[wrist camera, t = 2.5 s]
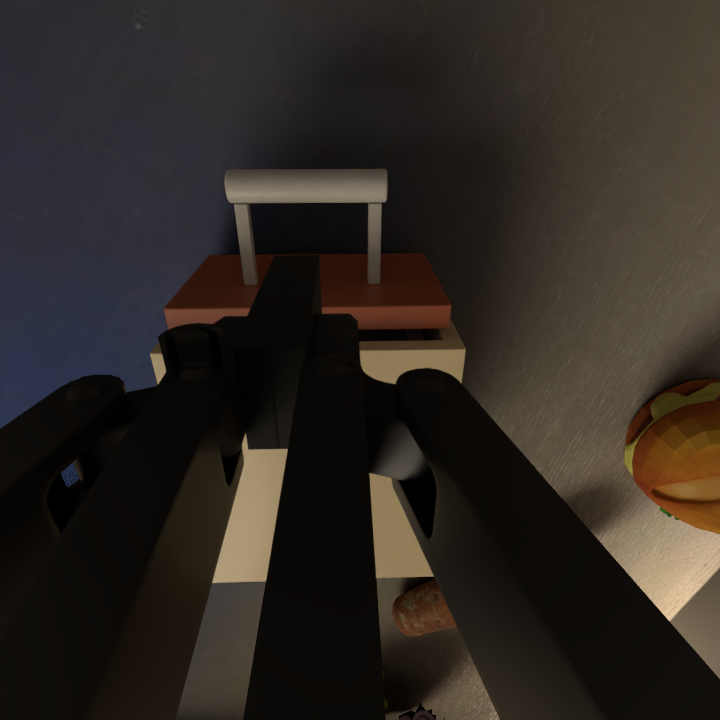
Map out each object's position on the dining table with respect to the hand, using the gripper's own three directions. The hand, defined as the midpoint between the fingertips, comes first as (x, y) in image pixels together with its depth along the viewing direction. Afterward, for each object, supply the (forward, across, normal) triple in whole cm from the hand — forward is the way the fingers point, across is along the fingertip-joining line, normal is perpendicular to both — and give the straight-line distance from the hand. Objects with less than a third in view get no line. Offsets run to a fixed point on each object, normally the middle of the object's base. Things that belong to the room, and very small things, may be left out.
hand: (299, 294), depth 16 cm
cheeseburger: (+13, +27, -16) cm, 34 cm away
